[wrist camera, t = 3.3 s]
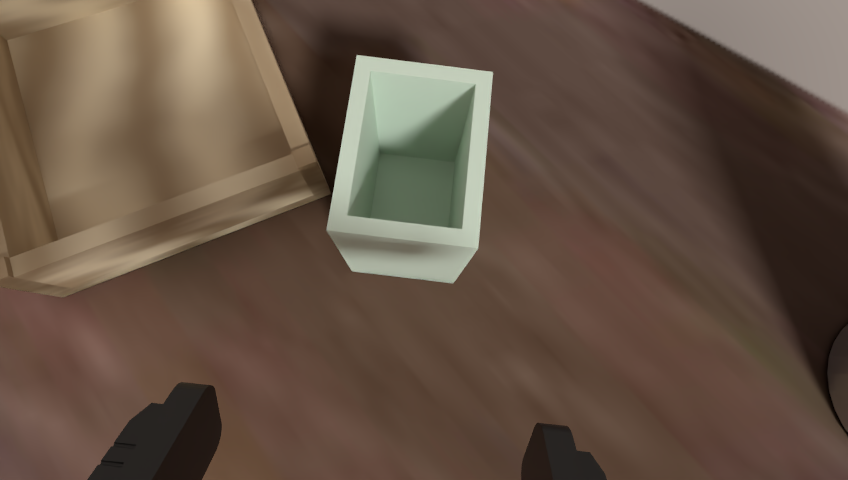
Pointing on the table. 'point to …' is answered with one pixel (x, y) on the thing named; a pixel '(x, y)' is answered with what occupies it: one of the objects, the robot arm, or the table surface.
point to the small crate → (411, 169)
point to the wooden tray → (138, 135)
